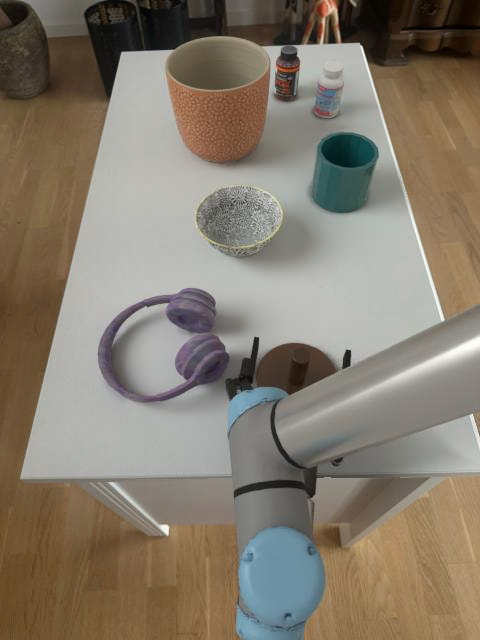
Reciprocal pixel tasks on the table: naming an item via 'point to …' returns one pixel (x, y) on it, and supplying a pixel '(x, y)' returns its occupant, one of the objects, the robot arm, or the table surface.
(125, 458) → the table surface
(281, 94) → the supplement bottle
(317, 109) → the pill bottle
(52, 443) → the table surface
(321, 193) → the storage jar
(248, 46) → the planter
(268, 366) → the jar lid
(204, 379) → the headphones
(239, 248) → the bowl
